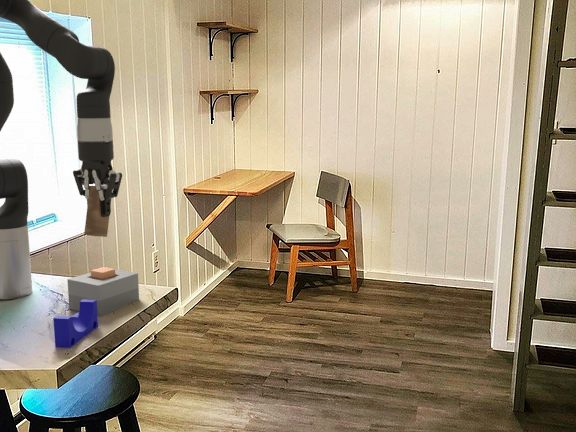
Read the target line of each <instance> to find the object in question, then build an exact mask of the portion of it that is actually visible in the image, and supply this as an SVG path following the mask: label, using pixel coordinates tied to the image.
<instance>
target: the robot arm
mask: <svg viewBox="0 0 576 432" xmlns="http://www.w3.org/2000/svg"><path fill="white" fill-rule="evenodd" d="M0 18H1V19H5V20H7V21H9V22H12V23H14V24H15V25H17V26H19V28H22V30H23V31H24V32H25V34H26V36H27V37H28V39H29V40H30V41H31V42H32V43H33V44H34V45H35V46H36V47H38V48H39V49H40V50H43V52H45V53H47V54H49V55H50V56H51V57H53V58H55V60H56V61H57V62H58V63H59V64H60V65H61V66H62V67H63V69H65V70H66V72H68V73H69V74H70V75H73V76H74V77H75V78H79V79H82V80H83V79H84V80H87V82H86V83H87V84H86V86H85V87H86V88H85V89H84V90H82V91H80V92H79V93H78V94H76V115H77V116H76V118H77V120H76V134H77V135H76V139H77V152H78V153H77V154H78V157H77V158H78V160H79V161H80V162H81V168H80V169H76V170H73V171H72V175H73V178H74V182H75V184H76V187H77V190H78V193H79V196H84V198H85V199H86V204H87V206H88V198H89V193H90V189H91V186H96V189H97V190H98V191H99V196H100V200H102V201H100V208H101V216H102V217H108V216H109V217H110V216H111V212H112V209H111V206H112V205H110V200H111V201H112V199H113V198H117V197H118V194H119V190H120V186H121V182H122V179H123V174H122V172H117V171H115V170H114V168H113V165H112V160H114V157H115V156H114V154H115V153H114V139H113V138H114V134H113V126H112V125H113V124H112V120H111V119H112V118H111V117H112V116H111V102H110V101H111V96H112V95H111V94H112V90H113V84H114V80H115V79H114V78H115V74H116V73H115V72H116V66H115V60H114V58H113V55H112V53H111V52H110V51H109V50H108V49H106V48H105V47H100V46H93V45H92V46H91V45H85V44H84V43H82V42H80V40H79V36H78V35H77V34H76V33H75V32H74V31H72V30H71V29H69V28H68V27H67V26H65V25H63V24H62V23H60V22H59V21H58V20H56V19H54V18H53V17H51V16H49V15H48V14H46V13H45V12H44V11H42V10H41V9H39V8H38V7H37V6H36V5H35V4H33V2H31V1H30V0H0ZM14 104H15V94H14V80H13V75H12V72H11V69H10V68H9V65H8V62H7V61H6V60H5V58H4V57H3V55H2V52H0V132H1V131H2V129H3V127H4V126H5V124H6V122H7V120H8V118H9V117H10V115H11V113H12V110H13V108H14ZM104 189H105V190H106V194H104ZM1 199H4V202H3V204H2V205H1V206H0V300H13V299H15V300H16V299H22V298H25V297H28V296H29V295H31V294H32V293H33V283H32V282H33V280H32V269H31V268H32V267H31V265H32V264H31V253H30V252H31V251H30V241H29V240H30V239H29V227H28V216H29V180H28V173H27V170H26V167H25V165H24V163H23V162H22V161H21V160H20V159H16V158H9V159H7V158H6V159H0V200H1ZM87 206H86V207H87Z"/></svg>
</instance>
